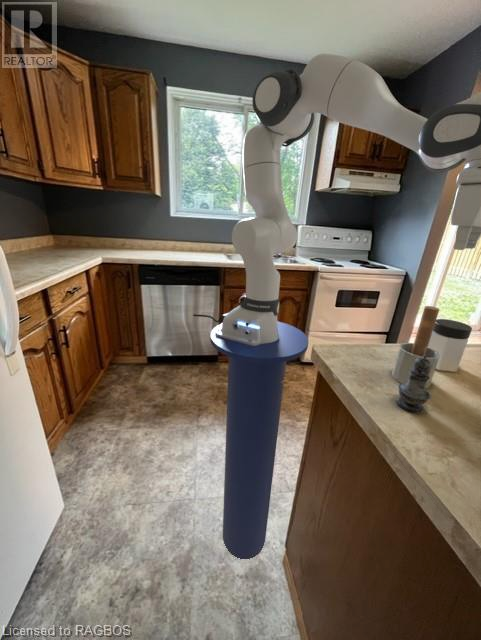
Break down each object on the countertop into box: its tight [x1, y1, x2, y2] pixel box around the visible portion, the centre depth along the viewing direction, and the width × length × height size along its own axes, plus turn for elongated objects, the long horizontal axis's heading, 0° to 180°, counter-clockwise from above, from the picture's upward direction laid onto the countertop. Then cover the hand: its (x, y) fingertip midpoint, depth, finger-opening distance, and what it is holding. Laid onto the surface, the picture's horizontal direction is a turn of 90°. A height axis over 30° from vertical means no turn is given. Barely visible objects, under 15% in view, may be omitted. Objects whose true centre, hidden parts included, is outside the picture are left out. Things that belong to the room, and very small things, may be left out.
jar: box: [428, 318, 473, 373], centre depth 73 cm, size 9×8×12 cm
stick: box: [411, 305, 440, 357], centre depth 64 cm, size 3×3×18 cm
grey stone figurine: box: [395, 355, 432, 414], centre depth 55 cm, size 6×6×12 cm
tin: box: [391, 342, 440, 389], centre depth 66 cm, size 8×8×8 cm
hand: (464, 249), depth 59 cm, fingers open, 8 cm apart
